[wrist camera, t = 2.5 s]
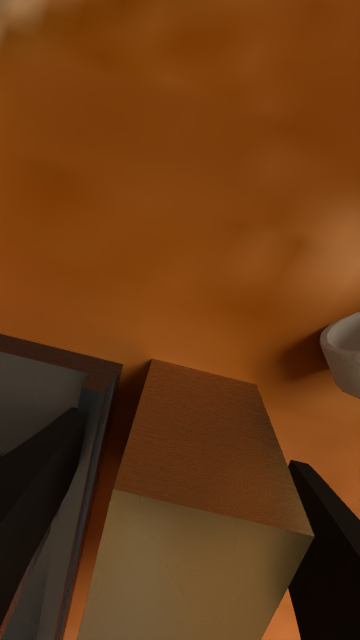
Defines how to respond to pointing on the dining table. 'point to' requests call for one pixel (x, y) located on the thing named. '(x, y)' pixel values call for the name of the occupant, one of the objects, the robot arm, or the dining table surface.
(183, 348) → the dining table surface
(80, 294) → the dining table surface
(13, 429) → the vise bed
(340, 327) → the wrench
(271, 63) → the dining table surface
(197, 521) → the brass block
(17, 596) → the bar
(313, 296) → the dining table surface
